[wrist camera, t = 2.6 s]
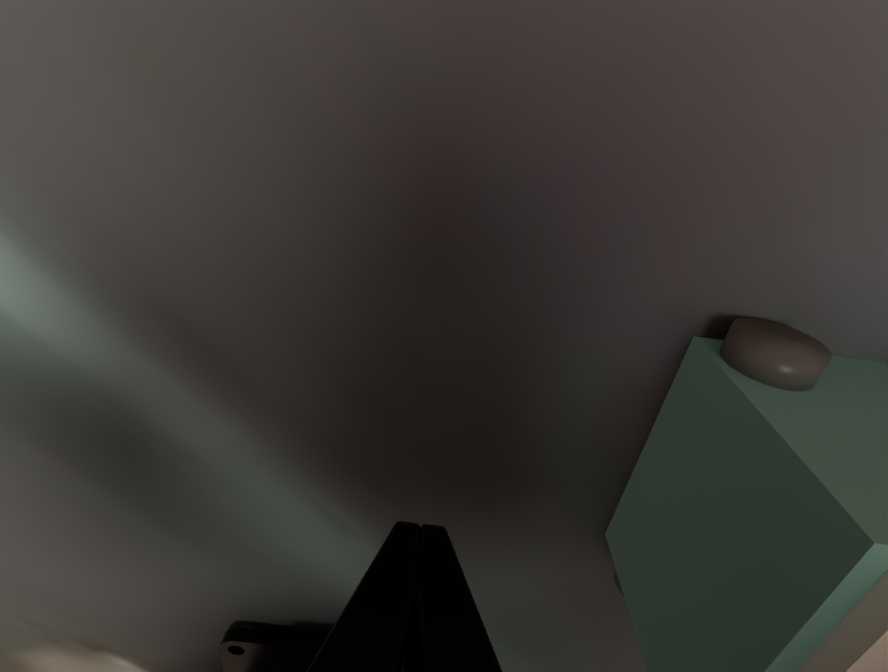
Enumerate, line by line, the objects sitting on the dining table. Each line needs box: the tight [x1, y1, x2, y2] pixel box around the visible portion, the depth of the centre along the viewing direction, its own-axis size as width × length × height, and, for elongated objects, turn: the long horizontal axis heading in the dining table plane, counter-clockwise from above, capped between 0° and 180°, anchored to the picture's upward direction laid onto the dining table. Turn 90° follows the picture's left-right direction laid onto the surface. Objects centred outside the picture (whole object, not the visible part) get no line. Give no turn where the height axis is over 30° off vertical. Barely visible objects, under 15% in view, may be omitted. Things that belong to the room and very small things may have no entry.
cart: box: [605, 318, 888, 672], centre depth 9 cm, size 7×6×5 cm
